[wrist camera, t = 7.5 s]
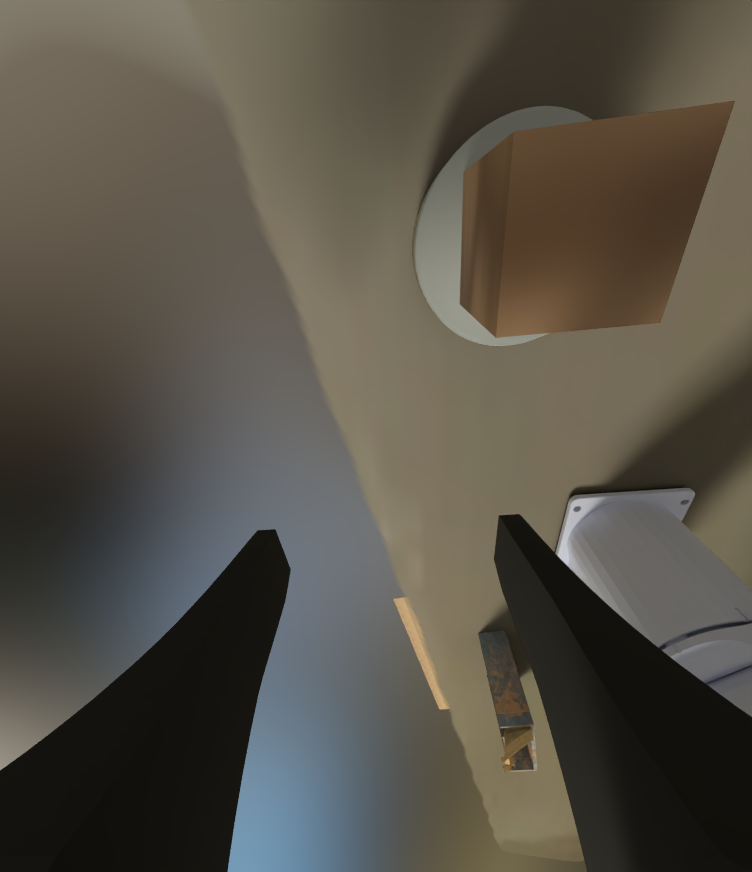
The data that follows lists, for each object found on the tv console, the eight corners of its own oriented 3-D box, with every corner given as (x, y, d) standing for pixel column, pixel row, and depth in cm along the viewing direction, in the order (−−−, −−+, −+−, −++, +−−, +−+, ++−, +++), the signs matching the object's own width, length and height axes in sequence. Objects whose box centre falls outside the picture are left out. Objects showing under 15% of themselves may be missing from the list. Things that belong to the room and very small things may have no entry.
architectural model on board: (472, 629, 33) (502, 762, 25) (503, 625, 32) (544, 759, 24) (484, 680, 39) (511, 803, 30) (511, 678, 38) (546, 802, 30)
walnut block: (567, 293, 14) (660, 322, 9) (459, 304, 14) (495, 337, 9) (592, 155, 12) (735, 100, 7) (462, 172, 12) (513, 131, 7)
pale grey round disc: (569, 320, 17) (601, 335, 15) (416, 338, 18) (422, 355, 15) (605, 115, 13) (658, 85, 11) (405, 147, 14) (410, 127, 11)
